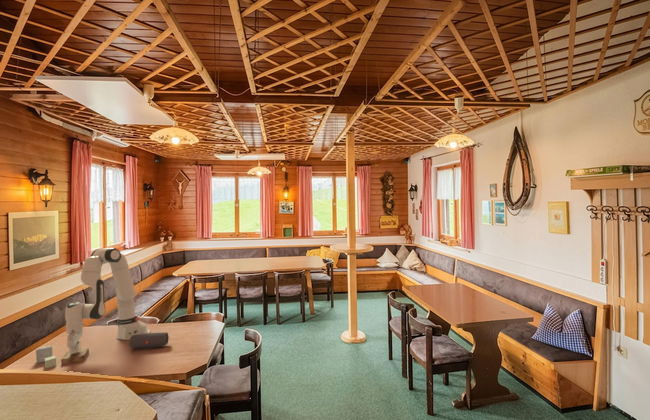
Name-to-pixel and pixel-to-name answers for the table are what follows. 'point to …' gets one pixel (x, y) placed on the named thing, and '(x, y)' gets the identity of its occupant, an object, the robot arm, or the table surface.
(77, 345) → the cream painted cube
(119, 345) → the table surface
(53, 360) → the sage painted cube
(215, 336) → the table surface
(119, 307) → the robot arm
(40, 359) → the medicine box
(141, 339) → the bluetooth speaker
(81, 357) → the walnut block
